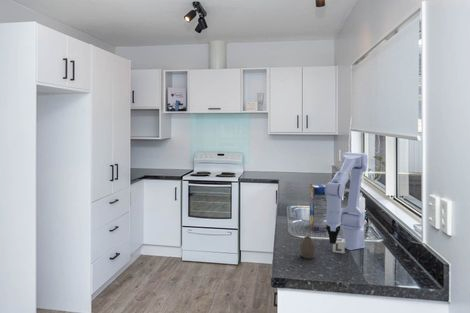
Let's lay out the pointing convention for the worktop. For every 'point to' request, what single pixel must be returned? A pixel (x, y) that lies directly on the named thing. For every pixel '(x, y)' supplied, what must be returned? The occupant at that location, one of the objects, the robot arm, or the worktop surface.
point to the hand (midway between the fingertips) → (332, 243)
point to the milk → (361, 206)
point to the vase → (307, 248)
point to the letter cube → (339, 246)
